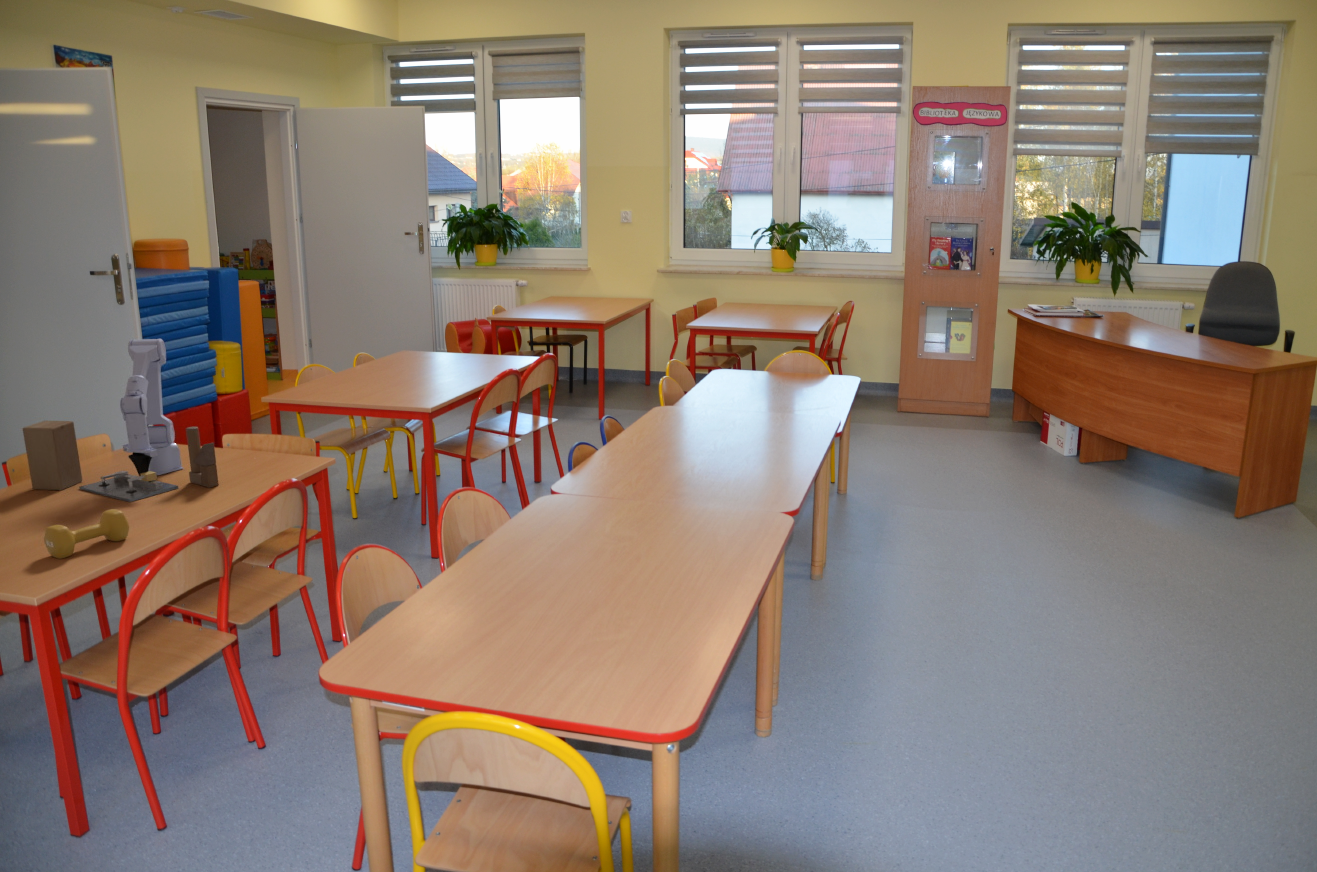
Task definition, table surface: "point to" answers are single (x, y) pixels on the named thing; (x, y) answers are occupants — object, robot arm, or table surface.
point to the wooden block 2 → (201, 460)
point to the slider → (143, 478)
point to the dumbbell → (85, 533)
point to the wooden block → (52, 455)
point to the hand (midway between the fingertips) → (143, 475)
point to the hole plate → (127, 487)
